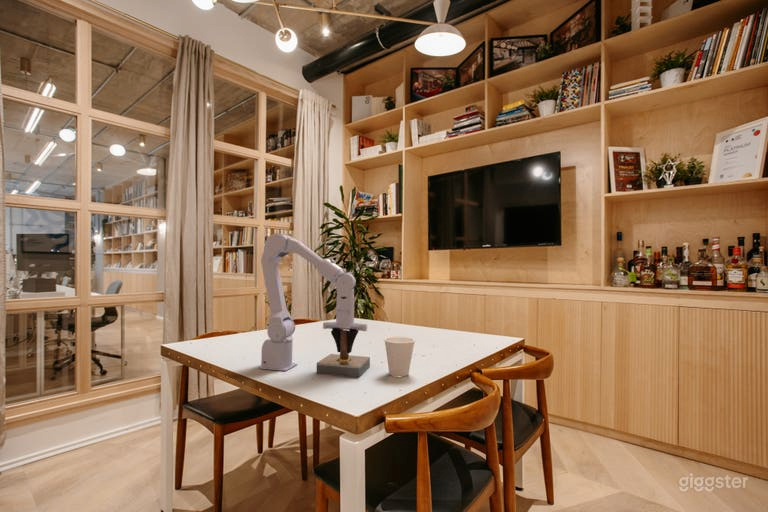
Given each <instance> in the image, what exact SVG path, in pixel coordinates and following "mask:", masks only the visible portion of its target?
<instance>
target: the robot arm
mask: <svg viewBox="0 0 768 512" xmlns="http://www.w3.org/2000/svg"><path fill="white" fill-rule="evenodd" d="M290 253H291V254H297V255H298V256H300V257H301V258H303V259H304V260H306V261H307V262H309V263H310V264H312V265H313V266H315V267H316V271H317V274H319V275H321V276H322V277H323V278H324V279H325V280H327V281H329V282H330V283H332V284H334V286H335V288H336V294H337V295H336V311H335V312H336V313H335V315H336V321H325V322H324V321H323V323H322V329H323V330H324V329H325V330H326V329H327V330H328V329H331V331H330V333H331V336H332V337H333V339H334V342H335V346H336V350H337V353H340V331H341V330H348V331H347V341H348V346H347V353H349V354H350V353H352V351H353V347H354V343H355V340H356V337H357V335H358V333H359V332H360V331H361V332H367V331H368V323H366V324H364V323H357V322H355V286H356V283H357V280H356V278H355V276H354V275H353V274H352V273H351V272H347V269H346V268H342V267H340V266H339V265H338V264H336V261H335V260H334V259H329V258H322V257H320V255H318V254H316V252H314V251H313V250H311V249H310V248H309V247H308V246H307V245H306V244H304V243H303V242H301V241H300V240H299V239H297V238H294V237H292V236H291V235H289V234H283V233H279V232H274V233H272V234H270V235H269V236H268V238H267V239H266V240H265V241H264V249H263V253H262V255H261V259H260V263H261V270H262V273H263V274H262V275H263V280H264V284H265V290H266V294H267V301H268V306H269V307H268V308H269V313H270V314H269V316H268V319H267V322H268V328H267V336H268V339H265V340H264V341H263V343H262V346H261V356H260V357H261V358H260V359H261V361H260V367H259V369H262V370H270V371H280V372H287V371H288V370H290V369H292V368H294V367H296V366H297V365H298V363H297V362H293V346H294V345H293V340H294V338H293V335H294V333H295V331H296V323H295V322H294V320H293V318H292V316H291V313H290V312H289V310H288V309H287V304H286V298H285V294H284V293H285V292H284V286H283V282H282V277H281V272H280V267H279V263H280V262H281V261H282V259H284V257H285V256H287V255H289V254H290Z"/></svg>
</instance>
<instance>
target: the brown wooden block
mask: <svg viewBox="0 0 768 512" xmlns="http://www.w3.org/2000/svg"><path fill="white" fill-rule="evenodd" d="M347 331H349V330H341V331H340V352H339V355H340V359H341V360H347V359H349V354H350V353H347V346H348V341H347Z"/></svg>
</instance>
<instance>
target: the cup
mask: <svg viewBox="0 0 768 512" xmlns="http://www.w3.org/2000/svg"><path fill="white" fill-rule="evenodd" d="M383 341H384V345H385V352H386V359H387V360H386V361H387V365H388V366H387V367H388V373H389V375H390V376H392V377H394V376H405V377H407V376H408V375H409V373H410V368H411V367H410V366H411V362H412V356H413V352H414V346H415V342H416V339H414V338H412V337H409V336H388V337H385V338H384V339H383ZM406 375H407V376H406Z"/></svg>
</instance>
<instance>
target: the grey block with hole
mask: <svg viewBox="0 0 768 512" xmlns="http://www.w3.org/2000/svg"><path fill="white" fill-rule="evenodd" d="M339 358H340V353H339V354H338V353H334V354H333V353H330V354H328V355H326V357H324V358H322V359H321V360H319V361H317V362H316V374H317V375H328V376H334V377H335V376H337V377H347V378H358V379H359V378H360V377H361V376H362V375H364V373H366V371H368V370H369V369H370V368H371V357H370V356H362V355H349V362H341V361H339Z"/></svg>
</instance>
